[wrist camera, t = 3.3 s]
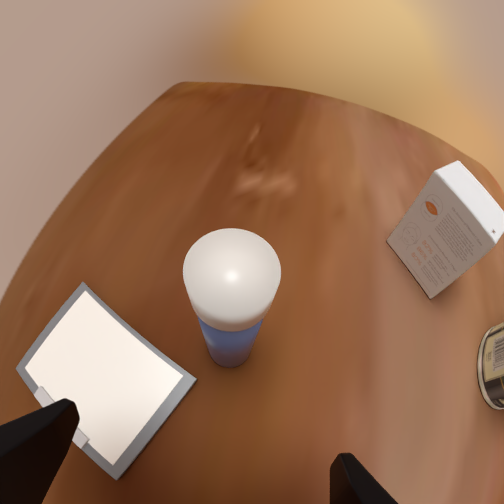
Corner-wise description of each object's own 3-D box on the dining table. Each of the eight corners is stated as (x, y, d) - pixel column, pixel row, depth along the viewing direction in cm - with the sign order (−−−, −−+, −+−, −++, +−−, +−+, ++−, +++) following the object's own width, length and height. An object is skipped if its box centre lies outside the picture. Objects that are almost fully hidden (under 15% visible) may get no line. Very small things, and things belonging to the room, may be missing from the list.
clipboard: (119, 479, 14) (114, 481, 13) (19, 369, 17) (12, 367, 16) (197, 379, 19) (195, 378, 19) (85, 284, 22) (80, 279, 21)
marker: (235, 377, 20) (245, 335, 9) (198, 352, 21) (163, 278, 10) (260, 341, 21) (298, 258, 10) (223, 318, 22) (221, 214, 11)
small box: (453, 276, 26) (512, 221, 17) (429, 301, 24) (498, 245, 15) (412, 222, 29) (458, 158, 20) (383, 240, 28) (434, 168, 19)
